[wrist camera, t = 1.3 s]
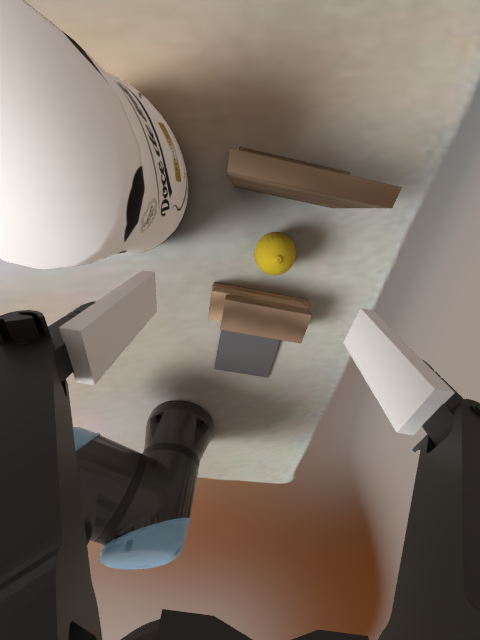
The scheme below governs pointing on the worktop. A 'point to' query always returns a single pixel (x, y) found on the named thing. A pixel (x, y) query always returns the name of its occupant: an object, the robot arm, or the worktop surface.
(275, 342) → the rubber mat
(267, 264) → the lemon
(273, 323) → the wooden blocks
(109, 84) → the milk container
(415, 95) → the worktop surface
